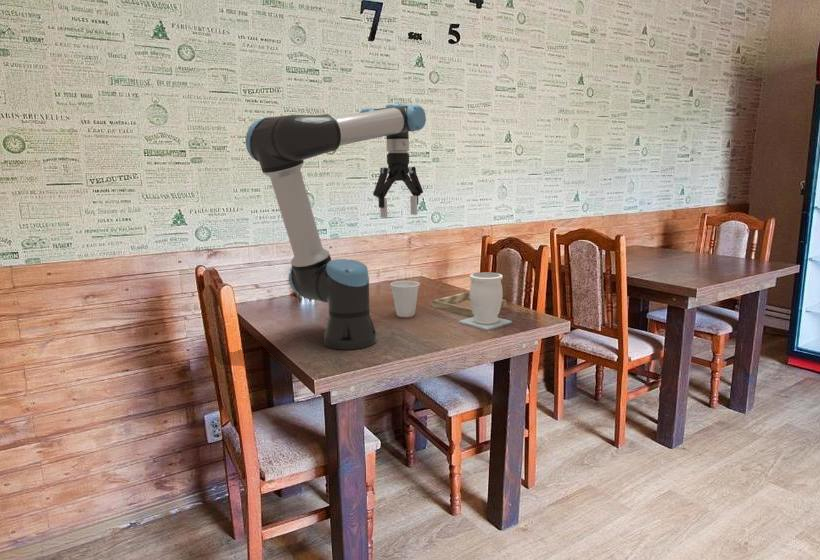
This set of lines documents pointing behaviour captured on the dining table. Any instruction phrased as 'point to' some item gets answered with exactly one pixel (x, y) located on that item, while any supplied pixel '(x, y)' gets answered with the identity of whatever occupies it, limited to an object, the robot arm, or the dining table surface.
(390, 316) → the dining table surface
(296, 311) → the dining table surface
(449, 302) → the square wooden frame
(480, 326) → the mat
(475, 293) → the jar
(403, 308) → the cup
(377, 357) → the dining table surface
